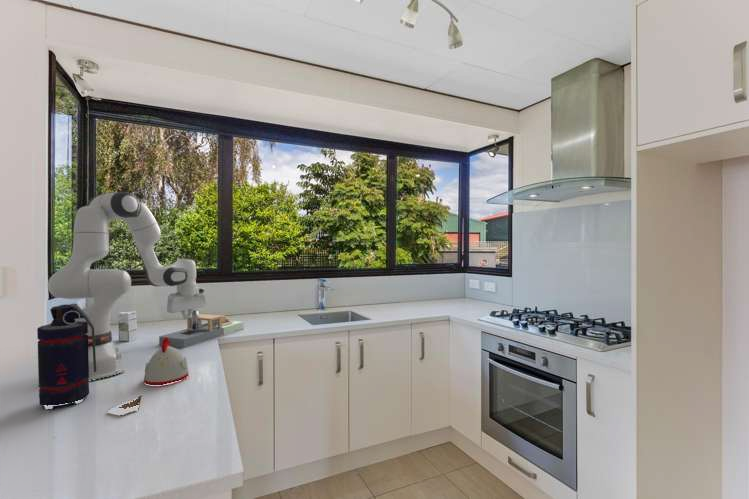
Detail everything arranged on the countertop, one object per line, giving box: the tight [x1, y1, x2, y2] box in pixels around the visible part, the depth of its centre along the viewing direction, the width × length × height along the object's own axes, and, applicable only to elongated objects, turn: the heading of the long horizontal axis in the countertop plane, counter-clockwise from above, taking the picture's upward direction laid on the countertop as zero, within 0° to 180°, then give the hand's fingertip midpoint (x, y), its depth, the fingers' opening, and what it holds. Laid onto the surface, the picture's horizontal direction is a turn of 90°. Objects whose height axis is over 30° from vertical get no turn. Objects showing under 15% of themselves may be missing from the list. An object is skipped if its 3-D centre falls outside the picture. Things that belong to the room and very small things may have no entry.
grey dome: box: [143, 337, 189, 385], centre depth 133 cm, size 14×14×15 cm
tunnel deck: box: [158, 313, 245, 349], centre depth 193 cm, size 40×16×10 cm, turn 158°
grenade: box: [36, 303, 96, 406], centre depth 114 cm, size 14×12×30 cm
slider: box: [186, 309, 234, 332], centre depth 197 cm, size 22×10×10 cm, turn 158°
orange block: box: [212, 314, 227, 326], centre depth 202 cm, size 5×5×4 cm
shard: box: [119, 395, 143, 409], centre depth 110 cm, size 11×8×2 cm
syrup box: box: [117, 310, 138, 342], centre depth 186 cm, size 6×6×14 cm
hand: (187, 318), depth 183 cm, fingers closed
